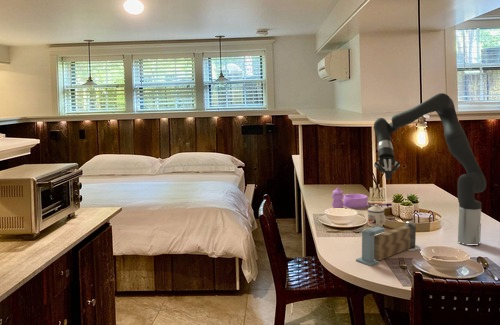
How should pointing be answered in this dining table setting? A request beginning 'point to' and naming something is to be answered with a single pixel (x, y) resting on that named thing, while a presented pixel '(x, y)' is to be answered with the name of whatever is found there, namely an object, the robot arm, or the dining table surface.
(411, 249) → the post
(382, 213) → the teacup with lid
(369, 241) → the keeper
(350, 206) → the container set
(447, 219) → the dining table surface
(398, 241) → the link
